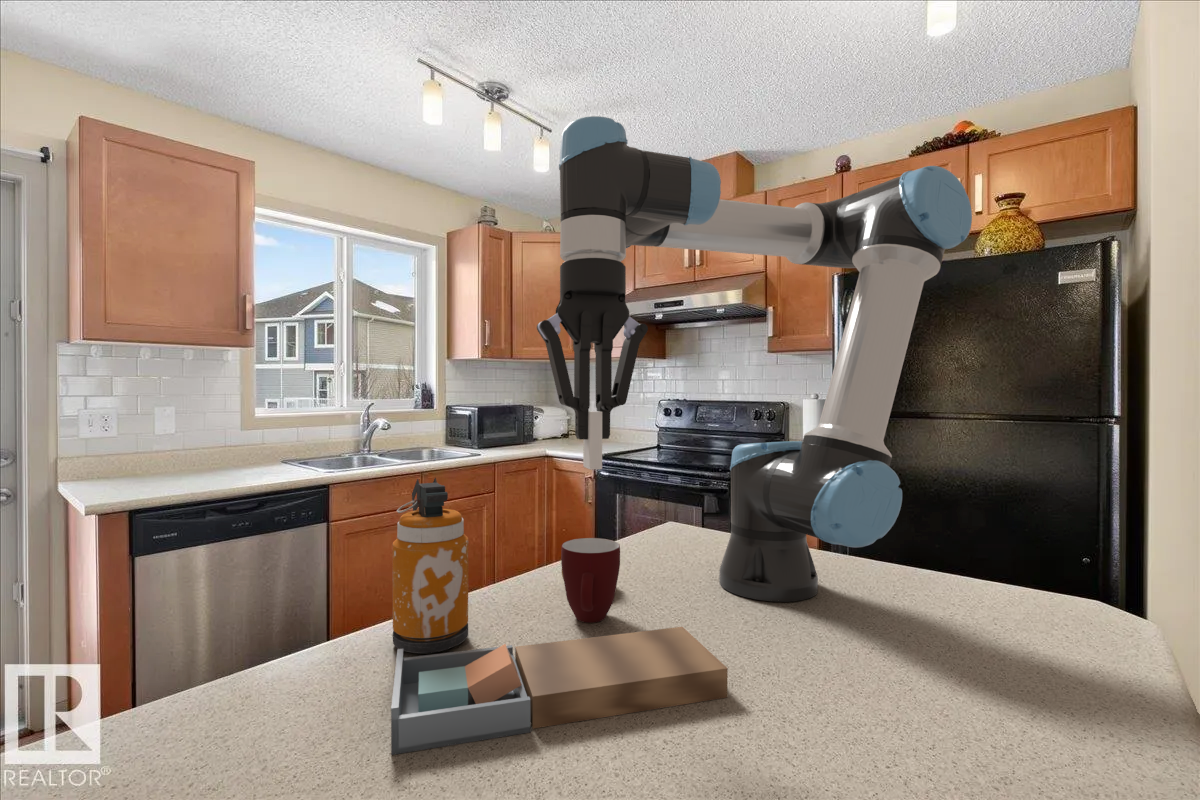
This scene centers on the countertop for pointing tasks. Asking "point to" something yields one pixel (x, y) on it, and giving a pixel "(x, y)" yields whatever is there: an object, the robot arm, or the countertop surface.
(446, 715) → the box
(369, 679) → the countertop surface
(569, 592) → the mug
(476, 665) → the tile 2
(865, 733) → the countertop surface
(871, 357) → the robot arm
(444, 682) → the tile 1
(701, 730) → the countertop surface
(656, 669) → the tan wooden flat box
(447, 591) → the canister
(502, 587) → the countertop surface
